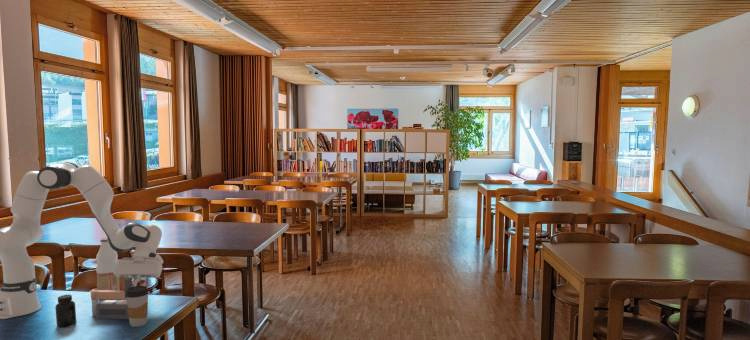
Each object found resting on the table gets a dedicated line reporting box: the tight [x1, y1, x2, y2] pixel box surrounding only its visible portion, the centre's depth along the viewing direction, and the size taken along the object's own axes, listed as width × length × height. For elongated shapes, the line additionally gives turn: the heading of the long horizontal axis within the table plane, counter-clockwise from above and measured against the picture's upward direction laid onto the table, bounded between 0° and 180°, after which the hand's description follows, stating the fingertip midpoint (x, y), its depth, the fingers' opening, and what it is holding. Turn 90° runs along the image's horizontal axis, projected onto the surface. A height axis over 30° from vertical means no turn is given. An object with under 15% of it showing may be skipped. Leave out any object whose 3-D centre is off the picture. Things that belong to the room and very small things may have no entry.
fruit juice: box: [95, 237, 120, 291], centre depth 226 cm, size 9×9×28 cm
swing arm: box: [90, 277, 133, 300], centre depth 199 cm, size 18×3×8 cm, turn 88°
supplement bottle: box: [54, 294, 77, 329], centre depth 191 cm, size 7×7×12 cm
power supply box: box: [91, 299, 129, 320], centre depth 200 cm, size 18×6×8 cm, turn 88°
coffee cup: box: [126, 285, 149, 328], centre depth 191 cm, size 8×8×15 cm
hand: (131, 285), depth 202 cm, fingers closed
